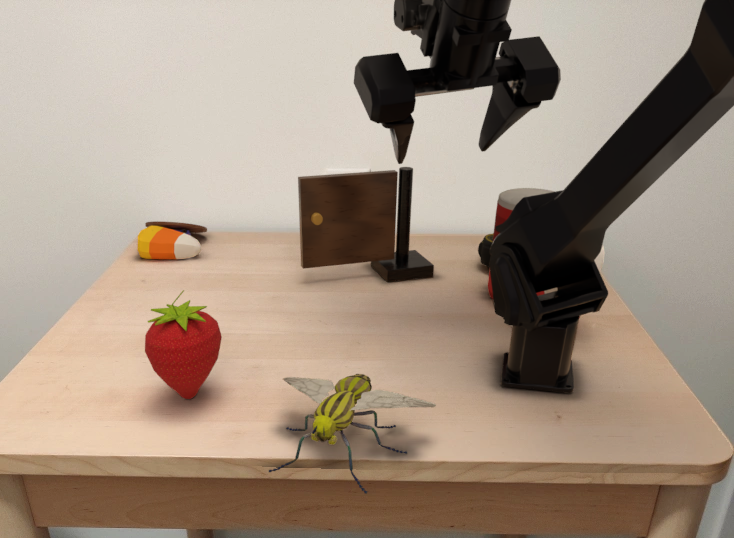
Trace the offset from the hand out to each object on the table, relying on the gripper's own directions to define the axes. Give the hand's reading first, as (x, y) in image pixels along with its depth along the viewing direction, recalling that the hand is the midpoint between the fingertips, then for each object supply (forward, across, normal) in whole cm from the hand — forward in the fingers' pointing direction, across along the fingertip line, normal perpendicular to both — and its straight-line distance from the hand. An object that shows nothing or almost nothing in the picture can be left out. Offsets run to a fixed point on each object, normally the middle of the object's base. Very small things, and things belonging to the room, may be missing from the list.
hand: (440, 154), depth 77 cm
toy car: (+24, +26, -20) cm, 40 cm away
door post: (+18, +1, -1) cm, 18 cm away
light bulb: (+8, -8, +19) cm, 22 cm away
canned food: (+13, -9, +10) cm, 19 cm away
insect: (-1, +20, +31) cm, 37 cm away
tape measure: (+18, -12, +2) cm, 22 cm away
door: (+15, +8, -1) cm, 17 cm away
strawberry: (+4, +31, +20) cm, 37 cm away
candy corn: (+22, +31, -16) cm, 41 cm away
